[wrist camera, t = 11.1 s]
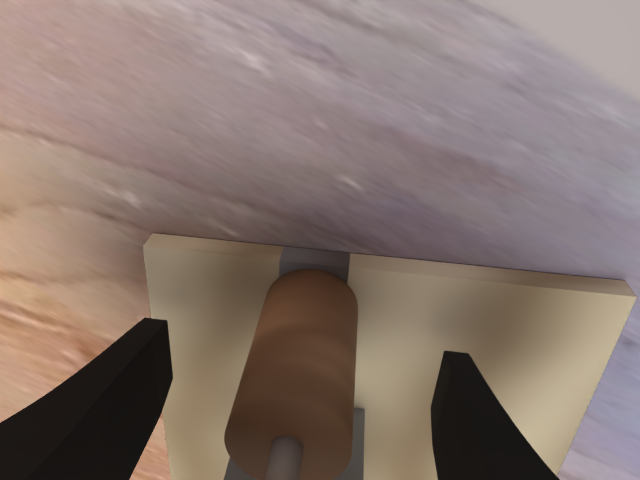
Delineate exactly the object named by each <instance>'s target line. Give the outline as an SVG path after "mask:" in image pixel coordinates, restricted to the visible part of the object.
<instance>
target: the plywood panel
mask: <svg viewBox="0 0 640 480" xmlns="http://www.w3.org/2000/svg"><path fill="white" fill-rule="evenodd" d="M143 255H144V263H145V271H146V279H147V288H148V296H149V304H150V312H151V319H161V320H167V322H168V332H169V341H170V351H171V361H172V371H173V380H172V383H171V386H170V390H169V393H168V396H167V399H166V401H165V404H164V407H163V410H162V411H163V419H164V427H165V435H166V444H167V452H168V460H169V468H170V477H171V480H224V476H225V473H226V469H227V466H228V462H229V458H230V456H229V454H228V452H227V450H226V447H225V443H224V434H225V429H226V426H227V423H228V420H229V416H230V413H231V410H232V406H233V403H234V400H235V397H236V393H237V390H238V387H239V383H240V380H241V377H242V374H243V370H244V367H245V364H246V360H247V357H248V354H249V351H250V347H251V344H252V341H253V337H254V334H255V331H256V328H257V324H258V321H259V318H260V315H261V311H262V308H263V305H264V301H265V298H266V295H267V292H268V290H269V288H270V286H271V285H272V284H273V283H274V282H275V281H276V280H277V279H278V278H279V277H281V276H282V275H284V274H286V273H288V272H291V271H294V270H298V269H318V270H323V271H326V272H329V273H331V274H334V275H336V276H337V277H339V278H340V279H342V280H343V281H344V282H345V283H346V284H347V285H348V286H349V287H350V288H351V289H352V291H353V293H354V294H355V297H356V299H357V303H358V326H357V349H356V372H355V394H354V408H361V409H365V428H364V477H363V480H438V477H437V471H436V465H435V459H434V453H433V447H432V431H431V403H432V399H433V395H434V391H435V386H436V382H437V378H438V374H439V370H440V365H441V361H442V357H443V353H444V351H454V352H463V353H469V355H470V356H471V357H472V359H473V361H474V362H475V364H476V366H477V367H478V369H479V371H480V372H481V374H482V375H483V377H484V379H485V380H486V382H487V384H488V385H489V387H490V388H491V390H492V391H493V393H494V394H495V396H496V398H497V399H498V401H499V402H500V404H501V405H502V406H503V408H504V409H505V411H506V412H507V414H508V415H509V416H510V418H511V419H512V421H513V422H514V424H515V425H516V426H517V428H518V429H519V430H520V432H521V433H522V434H523V436H524V437H525V438H526V440H527V441H528V442H529V444H530V445H531V446H532V447H533V449H534V450H535V451H536V452H537V454H538V455H539V456H540V457H541V459H542V460H543V461H544V462H545V463H546V465H547V466H548V467H549V468H550V469H551V470H552V472H553V473H554V474H555V475H556V476H557V474H558V472H559V470H560V467H561V465H562V463H563V461H564V459H565V456H566V454H567V452H568V450H569V447H570V445H571V443H572V441H573V438H574V436H575V434H576V432H577V430H578V427H579V425H580V423H581V421H582V418H583V416H584V414H585V412H586V409H587V407H588V405H589V403H590V401H591V398H592V396H593V394H594V392H595V389H596V387H597V385H598V383H599V380H600V378H601V376H602V374H603V372H604V369H605V367H606V365H607V363H608V360H609V358H610V356H611V354H612V351H613V349H614V347H615V345H616V343H617V340H618V338H619V336H620V334H621V331H622V329H623V327H624V325H625V322H626V320H627V318H628V316H629V314H630V311H631V309H632V307H633V305H634V302H635V300H636V298H637V296H636V295H635V294H634V292H633V291H632V290H631V288H630V287H629V286H628V284H627V283H626V281H622V280H612V279H602V278H592V277H582V276H572V275H562V274H553V273H543V272H533V271H523V270H513V269H503V268H493V267H483V266H473V265H463V264H454V263H444V262H434V261H424V260H414V259H404V258H394V257H384V256H374V255H364V254H355V253H345V252H335V251H325V250H315V249H305V248H295V247H285V246H275V245H265V244H256V243H246V242H236V241H226V240H216V239H206V238H196V237H186V236H176V235H166V234H156V233H152V235H151V236H150V237H149V238H148V240H147V241H146V242H145V244H144V245H143Z"/></svg>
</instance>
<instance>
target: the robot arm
mask: <svg viewBox="0 0 640 480" xmlns="http://www.w3.org/2000/svg"><path fill="white" fill-rule="evenodd" d="M172 380H173V371H172V361H171V351H170V341H169V332H168V322H167V320H161V319H151V318H144V319H142V320H141V321H140V322H139V323H137V324H136V325H135V326H134V327H132V328H131V329H130V330H129V331H128V332H126V333H125V334H124V335H123V336H122V337H120V338H119V339H118V340H117V341H116V342H114V343H113V344H112V345H111V346H109V347H108V348H107V349H106V350H105V351H103V352H102V353H101V354H100V355H98V356H97V357H96V358H95V359H93V360H92V361H91V362H90V363H88V364H87V365H86V366H84V367H83V368H82V369H81V370H79V371H78V372H77V373H75V374H74V375H73V376H71V377H70V378H68V379H67V380H66V381H64V382H63V383H62V384H60V385H59V386H57V387H56V388H55V389H53V390H52V391H50V392H49V393H48V394H46V395H45V396H43V397H42V398H40V399H38V400H37V401H35V402H34V403H32V404H31V405H29V406H27V407H26V408H24V409H23V410H21V411H19V412H18V413H16V414H14V415H13V416H11V417H9V418H8V419H6V420H4V421H2V422H1V423H0V480H129V479H130V477H131V475H132V473H133V471H134V469H135V467H136V465H137V463H138V460H139V458H140V456H141V454H142V452H143V450H144V448H145V446H146V444H147V442H148V440H149V438H150V436H151V434H152V432H153V430H154V428H155V426H156V424H157V421H158V419H159V417H160V415H161V413H162V410H163V407H164V404H165V401H166V399H167V396H168V393H169V390H170V386H171V383H172ZM431 431H432V447H433V453H434V459H435V465H436V471H437V477H438V480H560V479H559V478H558V477H557V476H556V475H555V474H554V473H553V472H552V470H551V469H550V468H549V467H548V466H547V465H546V463H545V462H544V461H543V460H542V459H541V457H540V456H539V455H538V454H537V452H536V451H535V450H534V449H533V447H532V446H531V445H530V444H529V442H528V441H527V440H526V438H525V437H524V436H523V434H522V433H521V432H520V430H519V429H518V428H517V426H516V425H515V424H514V422H513V421H512V419H511V418H510V416H509V415H508V414H507V412H506V411H505V409H504V408H503V406H502V405H501V404H500V402H499V401H498V399H497V398H496V396H495V394H494V393H493V391H492V390H491V388H490V387H489V385H488V384H487V382H486V380H485V379H484V377H483V375H482V374H481V372H480V371H479V369H478V367H477V366H476V364H475V362H474V361H473V359H472V357H471V356H470V355H469V353H463V352H454V351H444V353H443V357H442V361H441V365H440V370H439V374H438V378H437V382H436V386H435V391H434V395H433V399H432V403H431Z"/></svg>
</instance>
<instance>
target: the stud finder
mask: <svg viewBox="0 0 640 480" xmlns="http://www.w3.org/2000/svg"><path fill="white" fill-rule="evenodd" d="M364 428H365V409H361V408H354V417H353V440H352V455H351V459H350V462H349V464H348V466H347V467H346V469H345V470H344V471H343V472H342V473H341V474H340V475H339V476H337V477H336V478H334V479H333V480H363V477H364ZM224 480H258V479H256V478H254V477H252V476H250V475H248V474H247V473H245V472H244V471H243V470H241V469H240V468H239V467H238V466H237V465H236V464H235V463H234V462H233V460H232V459H231V457H230V458H229V462H228V466H227V469H226V473H225V476H224Z"/></svg>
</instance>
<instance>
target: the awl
mask: <svg viewBox="0 0 640 480" xmlns="http://www.w3.org/2000/svg"><path fill="white" fill-rule="evenodd" d="M357 326H358V303H357V299H356V297H355V294H354V293H353V291H352V289H351V288H350V287H349V286H348V285H347V284H346V283H345V282H344V281H343V280H342V279H340V278H339V277H337V276H336V275H334V274H331V273H329V272H326V271H323V270H318V269H298V270H294V271H291V272H288V273H286V274H284V275H282V276H281V277H279V278H278V279H277V280H276V281H275V282H274V283H273V284H272V285H271V286H270V288H269V290H268V292H267V295H266V298H265V301H264V305H263V308H262V311H261V315H260V318H259V321H258V324H257V328H256V331H255V334H254V337H253V341H252V344H251V347H250V351H249V354H248V357H247V360H246V364H245V367H244V370H243V374H242V377H241V380H240V383H239V387H238V390H237V393H236V397H235V400H234V403H233V406H232V410H231V413H230V416H229V420H228V423H227V426H226V429H225V434H224V443H225V447H226V450H227V452H228V454H229V456H230V457H231V459H232V460H233V462H234V463H235V464H236V465H237V466H238V467H239V468H240V469H241V470H243V471H244V472H245V473H247V474H248V475H250V476H252V477H254V478H256V479H258V480H333V479H334V478H336V477H337V476H339V475H340V474H341V473H342V472H343V471H344V470H345V469H346V467H347V466H348V464H349V462H350V459H351V455H352V440H353V417H354V394H355V372H356V349H357Z"/></svg>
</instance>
